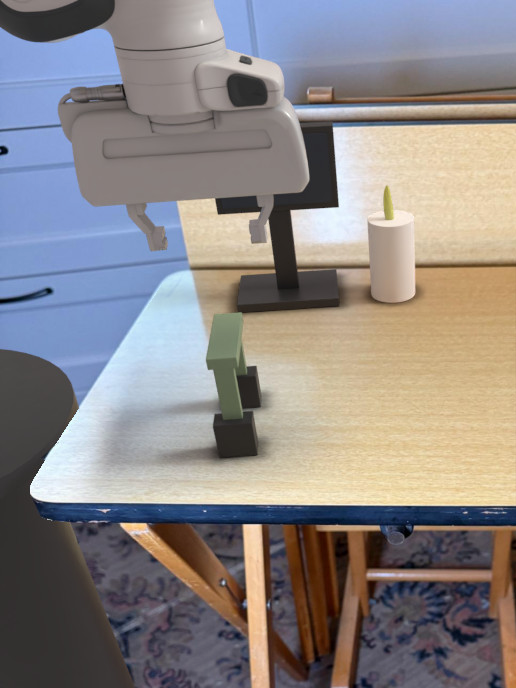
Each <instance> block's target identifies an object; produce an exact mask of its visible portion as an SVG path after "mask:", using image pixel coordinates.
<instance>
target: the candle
mask: <svg viewBox="0 0 516 688" xmlns="http://www.w3.org/2000/svg"><path fill="white" fill-rule="evenodd" d="M391 193H392V192H391V189H390V186H389V185H385V187H384V190H383V196H382V197H383V198H382V199H383V200H382V201H383V202H382V203H383V210H380V211H376V212H374V213H371V214H370V215H368V216H367V220H366V221H367V239H368V240H367V241H368V257H369V277H370V295H371V297H372V298H373V299H374V300H376V301H377V302H382V303H387V304H388V303H389V304H390V303H391V304H395V303H401V302H405V301H408V300H411V299H413V297H415V295H416V247H415V245H416V244H415V242H416V241H415V239H416V238H415V216H414V214H413V213H411V212H409V211H405V210H399V209H394V204H393V199H392V194H391Z"/></svg>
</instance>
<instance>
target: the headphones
mask: <svg viewBox="0 0 516 688" xmlns="http://www.w3.org/2000/svg"><path fill="white" fill-rule="evenodd" d="M243 331H244V316H243V312H239V313H238V312H228V313H227V312H225V313H214V314H213V317H212V322H211V329H210V334H209V340H208V345H207V349H206V356H205V363H206V368H207V370H208V371H212V372H213V377H214V381H215V387H216V392H217V396H218V401H219V406H220V411H221V412H219V413H214V415H213V420H212V421H213V422H212V429H213V435H214V439H215V444H216V448H217V452H218V453H217V454H218V458H219V459H224V458H238V457H249V456H251V457H252V456H258V454H259V438H258V431H257V427H256V420H255V414H254V411H253V410H248V411H246V410H245V411H243V409H247V408H260V407H262V390H261V385H260V378H259V372H258V371H259V370H258V366H257V365H247V361H246V355H245V349H244V343H243V338H242V337H243Z"/></svg>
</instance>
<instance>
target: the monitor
mask: <svg viewBox="0 0 516 688" xmlns="http://www.w3.org/2000/svg"><path fill="white" fill-rule="evenodd" d="M299 123H300V127H301V131H302V135H303V139H304V144H305V149H306V155H307V161H308V168H309V182H308V184H307V185H306V187H305V189H304V190H303V191H302V192H298V193H284V194H273V196H274V203H273V208H272V211H271V213H270V216H269V218H268V220H267V222H268V227H269V235H270V241H271V249H272V257H273V263H274V264H273V265H274V272H271V273H255V274H243V275H242V274H241V275H240V279H239V288H238V294H237V295H238V296H237V301H236V307H237V313H239V312H242V313H255V312H269V311H270V312H271V311H286V310H299V309H300V310H301V309H313V308H330V307H340V294H339V283H338V272H337V268H333V269H316V270H303V271H299V270H298V263H297V254H296V245H295V236H294V227H293V220H292V211H302V210H318V209H334V208H335V209H336V208H337V209H338V208H340V202H339V201H340V200H339V189H338V177H337V174H338V173H337V161H336V149H335V136H334V124H333V121H330V120H329V121H314V122H313V121H312V122H299ZM214 201H215V207H216V213H217V215H218V216H219V215H220V216H221V215H233V214H234V215H235V214H249V213H250V214H252V213H260V212H261V209H262V207H259V206H258V202H257V196H242V197H227V198H214Z"/></svg>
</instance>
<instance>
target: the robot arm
mask: <svg viewBox="0 0 516 688" xmlns="http://www.w3.org/2000/svg"><path fill="white" fill-rule="evenodd" d="M0 28H1V30H3V31H5V32H6V33H8V34H10V35H11V36H13V37H15V38H18V39H20V40H22V41H25V42H31V43H41V44H56V43H60V42H65V41H68V40H70V39H73V38H75V37H76V36H78V35H80V34H84V33H85V32H88V31H92V30H99V29H100V30H104V31H106V32H107V33H109V35H110V36H111V39H112V43H113V47H114V52H115V57H116V61H117V64H118V69H119V73H120V77H121V82H122V83H115V84H104V85H98V86H91V87H89V86H88V87H87V86H75V87H71V88H70V89H69V93H66V94H64V95H63V96H62V97H61V98H60V99H59V101H58V104H57V115H58V118H59V122H60V127H61V129H62V132H63V134H64V136H65V138H66V139H67V140H68V141H69V142H70V143H71V149H72V157H73V164H74V169H75V174H76V180H77V184H78V185H77V186H78V188H79V193H80V195H81V197H82V198H83V200H85V201H86V202H87V203H88V204H89V205H91V206H93V207H94V208H97V207H111V206H113V207H114V206H125V207H126V211H127V214H128V218H130V220H131V221H132V222H133V223H134V224H135V225H136V227H137V228H139V230H140V231H141V232H142V233H143V234H144V235H145V237H146V240H147V245H148V248H149V251H150V252H158V251H159V252H160V251H167V249H168V246H169V243H168V237H167V236H166V228H165V226H164V225H157V226H156V225H155V224H154V222H153V221H152V219H150V218H149V216H148V215H147V213H145V212H146V210H147V207H148V205H147V204H153V203H154V204H155V203H166V202H167V203H169V202H170V203H171V202H183V201H194V200H195V201H196V200H197V201H198V200H212V199H215V198H227V197H242V196H257V202H258V206H259V207H262V209H261V212H259V214H258V217H257V218H253V219H249V221H248V232H249V234H250V243H251V245H252V244H253V245H256V244H268V231H267V223H268V218H269V216H270V213H271V211H272V208H273V203H274V196H273V194H284V193H298V192H302V191H303V190H304V189H305V187H306V185H307V184H308V182H309V168H308V161H307V155H306V149H305V144H304V139H303V135H302V131H301V127H300V123H301V122H300V120H299V117H298V114H297V111H296V109H295V107H294V106H293V104H292V103H291V101H290V100H289V99H288V98H286V97H285V96H284V95H285V91H286V90H285V88H286V87H285V85H286V84H285V77H284V73H283V70H282V68H281V67H280V66H279V64H277V63H276V62H274V61H271V60H268V59H267V60H266V59H264V58H259V57H256V56H252V55H249V54H246V53H242V52H238V51H235V50H232V49H228V48H227V44H226V38H225V32H224V28H223V24H222V22H221V20H220V18H219V15H218V13H217V9H216V5H215V0H0ZM70 99H71V101H69V100H70Z"/></svg>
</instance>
